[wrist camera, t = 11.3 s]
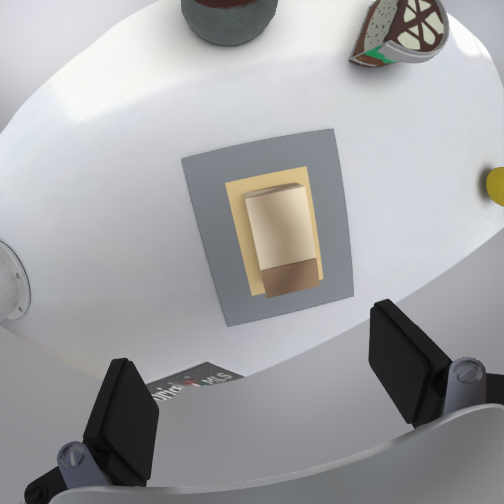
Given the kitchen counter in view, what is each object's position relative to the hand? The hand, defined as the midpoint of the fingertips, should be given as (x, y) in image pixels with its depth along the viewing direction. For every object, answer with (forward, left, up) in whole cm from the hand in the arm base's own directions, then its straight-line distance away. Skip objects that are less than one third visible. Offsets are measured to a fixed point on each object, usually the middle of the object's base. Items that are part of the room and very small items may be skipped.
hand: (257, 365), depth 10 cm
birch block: (+4, -2, -21) cm, 22 cm away
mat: (+4, -2, -22) cm, 22 cm away
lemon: (+37, -1, -22) cm, 43 cm away
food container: (+21, +18, -22) cm, 35 cm away
